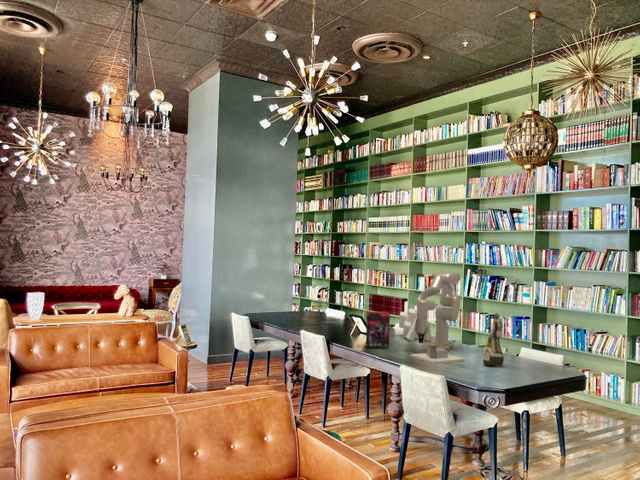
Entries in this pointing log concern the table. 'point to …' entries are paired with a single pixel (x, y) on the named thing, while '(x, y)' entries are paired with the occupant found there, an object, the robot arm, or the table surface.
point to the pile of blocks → (411, 324)
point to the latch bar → (437, 345)
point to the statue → (494, 345)
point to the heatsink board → (440, 360)
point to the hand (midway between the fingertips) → (420, 342)
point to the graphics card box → (377, 329)
